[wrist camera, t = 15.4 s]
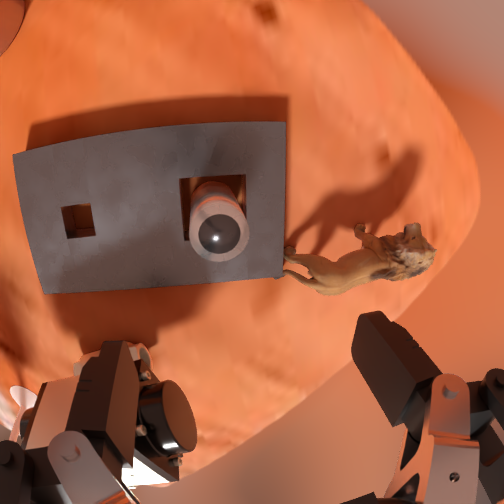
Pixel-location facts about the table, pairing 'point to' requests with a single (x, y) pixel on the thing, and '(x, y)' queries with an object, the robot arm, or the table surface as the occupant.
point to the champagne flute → (21, 406)
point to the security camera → (147, 422)
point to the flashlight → (217, 223)
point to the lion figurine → (366, 261)
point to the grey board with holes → (149, 205)
